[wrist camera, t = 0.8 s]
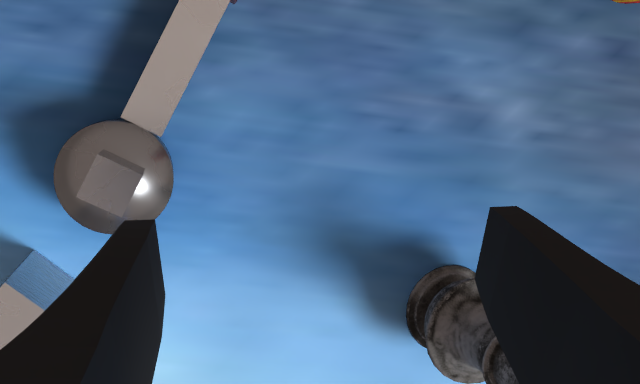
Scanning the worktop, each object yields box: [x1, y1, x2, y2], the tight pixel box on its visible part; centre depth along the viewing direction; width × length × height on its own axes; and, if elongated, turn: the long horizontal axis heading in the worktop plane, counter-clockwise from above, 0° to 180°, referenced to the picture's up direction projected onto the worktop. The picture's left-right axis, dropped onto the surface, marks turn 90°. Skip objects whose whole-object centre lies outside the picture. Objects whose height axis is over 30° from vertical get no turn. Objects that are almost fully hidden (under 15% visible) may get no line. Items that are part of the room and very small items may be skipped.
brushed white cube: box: [0, 250, 75, 350], centre depth 28 cm, size 5×5×6 cm
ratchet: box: [54, 0, 237, 234], centre depth 28 cm, size 19×5×5 cm, turn 152°
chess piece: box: [406, 265, 519, 384], centre depth 30 cm, size 6×6×12 cm
